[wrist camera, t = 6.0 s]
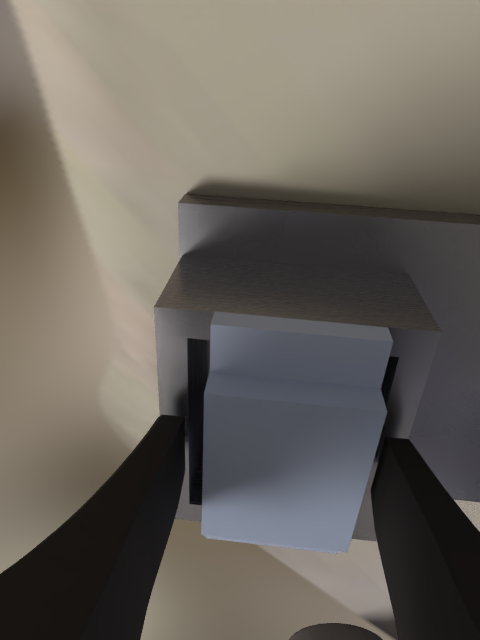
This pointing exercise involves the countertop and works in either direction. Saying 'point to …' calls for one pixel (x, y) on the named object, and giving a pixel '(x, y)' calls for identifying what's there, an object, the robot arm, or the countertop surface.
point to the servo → (290, 429)
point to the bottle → (334, 633)
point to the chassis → (334, 316)
